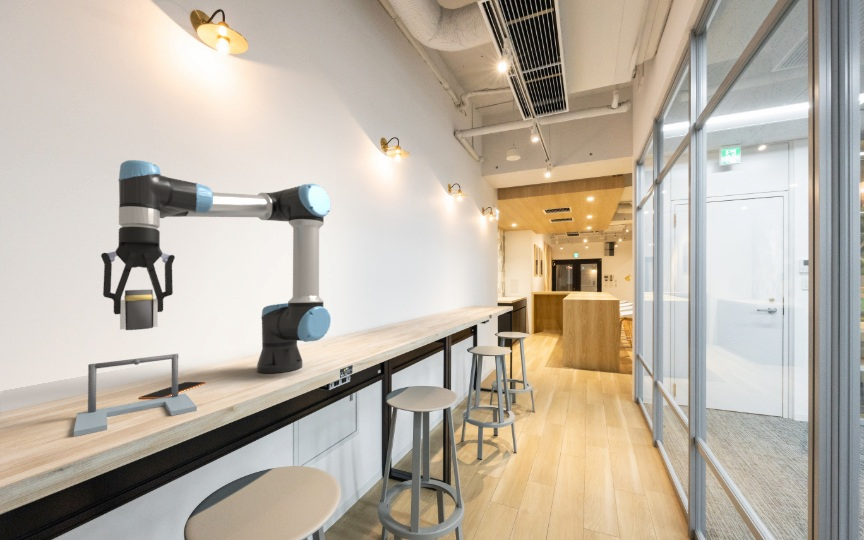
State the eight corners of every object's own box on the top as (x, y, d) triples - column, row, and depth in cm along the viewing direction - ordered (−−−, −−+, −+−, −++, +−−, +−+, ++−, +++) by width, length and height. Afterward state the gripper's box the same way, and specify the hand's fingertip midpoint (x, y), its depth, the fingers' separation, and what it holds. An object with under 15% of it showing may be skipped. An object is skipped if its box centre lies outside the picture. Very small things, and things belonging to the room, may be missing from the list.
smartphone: (207, 384, 114) (207, 381, 114) (162, 400, 98) (162, 397, 98) (184, 384, 115) (184, 381, 115) (136, 400, 99) (136, 397, 99)
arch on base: (185, 397, 99) (185, 352, 100) (196, 410, 87) (196, 359, 88) (77, 417, 85) (77, 364, 86) (73, 436, 73) (74, 375, 74)
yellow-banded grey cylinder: (154, 328, 85) (154, 289, 85) (125, 330, 81) (124, 290, 82) (152, 326, 89) (152, 289, 89) (124, 329, 85) (124, 290, 85)
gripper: (183, 233, 95) (183, 323, 94) (87, 226, 83) (85, 330, 81) (188, 229, 89) (188, 324, 88) (86, 221, 77) (84, 332, 76)
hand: (139, 327), depth 85 cm, fingers closed on yellow-banded grey cylinder, 5 cm apart
